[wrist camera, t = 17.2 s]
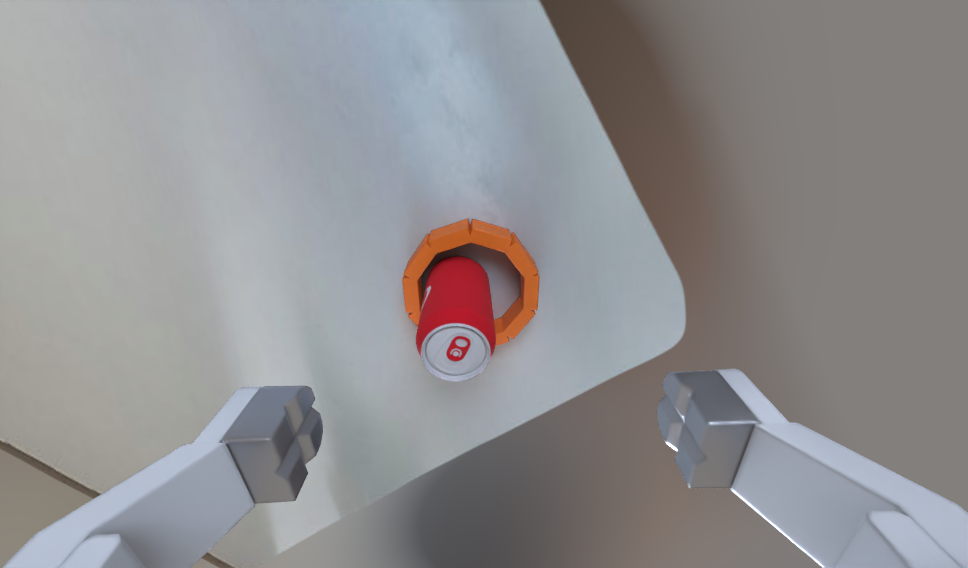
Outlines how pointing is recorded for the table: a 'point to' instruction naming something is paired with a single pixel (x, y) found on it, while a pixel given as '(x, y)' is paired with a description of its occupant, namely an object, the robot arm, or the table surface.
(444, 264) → the beverage can
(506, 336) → the ring
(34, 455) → the table surface
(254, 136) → the table surface
